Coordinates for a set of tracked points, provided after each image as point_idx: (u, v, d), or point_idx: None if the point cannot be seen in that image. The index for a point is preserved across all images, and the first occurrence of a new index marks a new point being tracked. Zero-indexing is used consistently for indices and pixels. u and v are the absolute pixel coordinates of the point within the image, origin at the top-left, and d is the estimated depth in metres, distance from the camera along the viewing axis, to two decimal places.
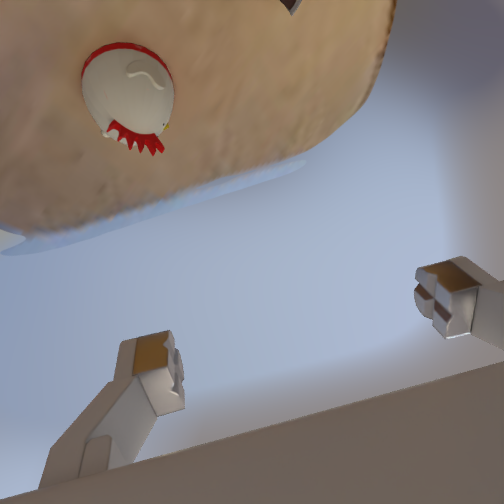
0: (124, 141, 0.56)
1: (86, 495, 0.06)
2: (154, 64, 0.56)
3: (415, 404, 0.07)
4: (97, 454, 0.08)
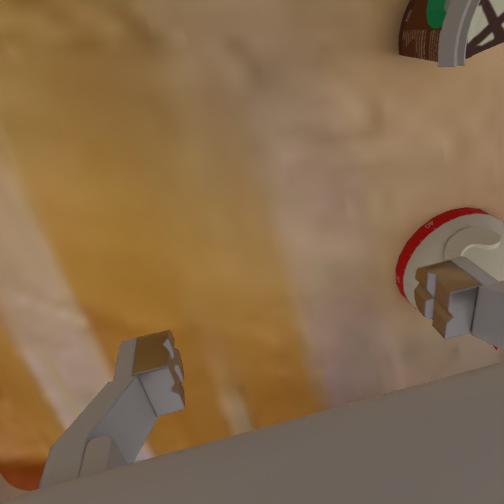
0: None
1: (86, 495, 0.06)
2: (462, 225, 0.41)
3: (415, 404, 0.07)
4: (97, 455, 0.08)
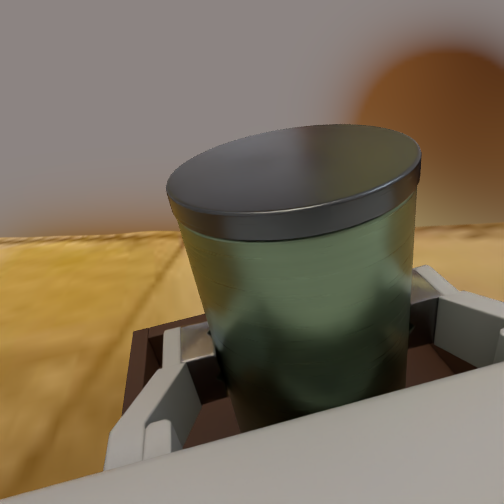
0: None
1: (86, 495, 0.06)
2: None
3: (415, 404, 0.07)
4: (158, 438, 0.08)
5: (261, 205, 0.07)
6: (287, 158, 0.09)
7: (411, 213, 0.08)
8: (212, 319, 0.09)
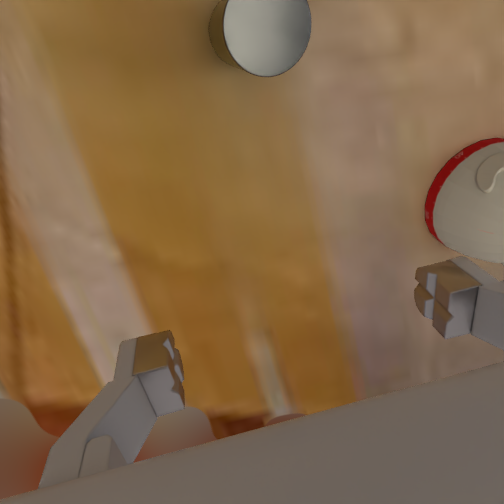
0: None
1: (86, 495, 0.06)
2: (494, 151, 0.41)
3: (415, 403, 0.07)
4: (97, 455, 0.08)
5: (257, 71, 0.25)
6: (268, 28, 0.24)
7: None
8: (225, 53, 0.27)
